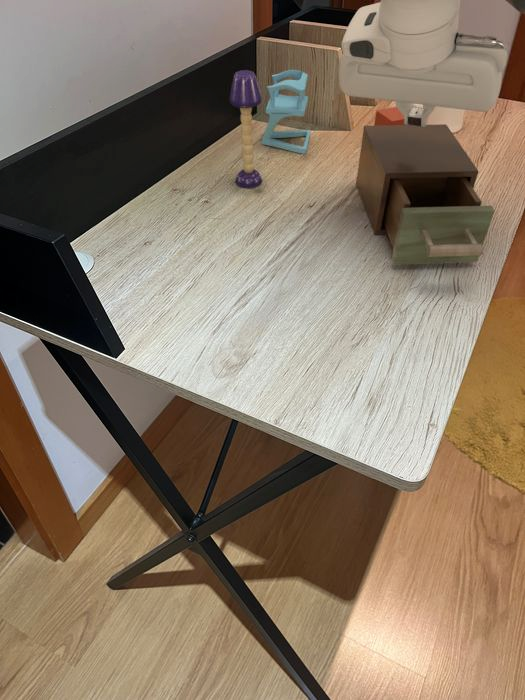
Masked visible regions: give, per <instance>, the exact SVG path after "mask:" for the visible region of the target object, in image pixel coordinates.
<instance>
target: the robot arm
mask: <svg viewBox="0 0 525 700" xmlns="http://www.w3.org/2000/svg"><path fill="white" fill-rule="evenodd" d="M505 1H506V2H507V3H508V4H509V5H510V6H512V7H513V8H514V9H515V10H516V11H517V12H519V13H520V14H523V15H525V0H505ZM460 8H461V0H380V2H376V3H372V4H369V5H365V6H361V7H360V8H358V9H357V11H356V12H355V14H354V15H353V17H352V19H351V20H350V22H349V24H348V26H347V28H346V29H345V33H344V35H343V38H342V41H341V43H340V44H341V45H340V47H341V52H342V54H341V57H340V59H339V61H338V84H339V85H338V86H339V90H340V91H341V92H342V93H343V94H344V95H345V96H347V97H355V98H364V99H372V100H380V101H389V102H395V107H397V108H398V110H399V111H400V112H401V114H402V115H403V116H404V124H405V125H413V126H420V127H425V126H426V124H427V121H428V116H429V115H430V114H431V113H432V111H433V110H434V108H435V106H437V107H446V108H454V109H462V110H465V111H470V112H471V111H472V112H480V113H487V112H489V111H490V110H491V109H493V108H494V107H496V103H497V101H498V98H499V96H500V93H501V88H502V80H503V79H502V78H503V70H504V69H506V67H507V64H508V61H509V55H510V51H509V46H508V45H507V44H506V43H505V42H503V41H501V40H498V36H494V35H476V34H472V33H462V32H461V33H459V23H460V22H459V21H460V10H461V9H460ZM411 103H413V104H421V105H423V108H416V107H412V105H411Z"/></svg>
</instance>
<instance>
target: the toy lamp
mask: <svg viewBox="0 0 525 700" xmlns="http://www.w3.org/2000/svg"><path fill="white" fill-rule="evenodd" d="M261 102H262V94H261V90H260V87H259V84H258V79H257V76H256V74H255V72H254V71H252V70H248V69H244V70H239V71H236V72H235V73H234V75H233V78H232V83H231V88H230V95H229V103H230V105H232V106H233V107H235V108H239V111H240V122H241V125H240V131H241V136H240V137H241V142H242V143H241V144H242V145H241V151H242V161H243V163H242V167H243V168H242V170H240V171H238V173H237V175H236V176H235V184H236V186H238V187H240V188H243V189H253V188H257V187H258V186H260V185H261V184H262V181H263V178H262V176H261V173H260V172H258V170H256V169H255V164H254V158H255V157H254V153H253V152H254V144H253V141H254V139H253V138H254V136H253V124H252V122H253V115H252V111H253V108H254V107H256V106H259V105H260V104H262V103H261Z"/></svg>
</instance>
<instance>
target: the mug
mask: <svg viewBox="0 0 525 700" xmlns="http://www.w3.org/2000/svg"><path fill="white" fill-rule="evenodd" d="M411 105H412V107H416V108H423V105H421V104H413V103H411ZM465 113H466V110H462V109H454V108H446V107H437V106H435V108H434V110H433V111H432V113H431V114H430V115H429V116H428V121H427V124H426V125H443V124H446V125H447V126H448V128H449V129H450V131H451V132H452V134H456V133H457V132H460V131H461V130H462V129H463V123H464V122H463V121H464V117H465Z"/></svg>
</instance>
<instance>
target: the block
mask: <svg viewBox="0 0 525 700" xmlns="http://www.w3.org/2000/svg"><path fill="white" fill-rule="evenodd" d="M384 125H405V124H404V116H403V115H402V114H401V112H400V111H399V110H398V108H397V107H396V106H393V107H392V106H391V107H387V108H382V109H381V108H380V109H377V110H376V111H375V117H374V124H373V126H384Z"/></svg>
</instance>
